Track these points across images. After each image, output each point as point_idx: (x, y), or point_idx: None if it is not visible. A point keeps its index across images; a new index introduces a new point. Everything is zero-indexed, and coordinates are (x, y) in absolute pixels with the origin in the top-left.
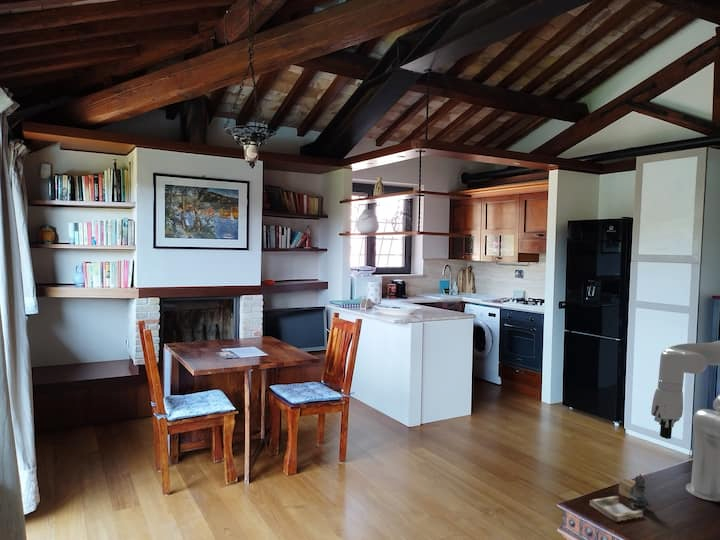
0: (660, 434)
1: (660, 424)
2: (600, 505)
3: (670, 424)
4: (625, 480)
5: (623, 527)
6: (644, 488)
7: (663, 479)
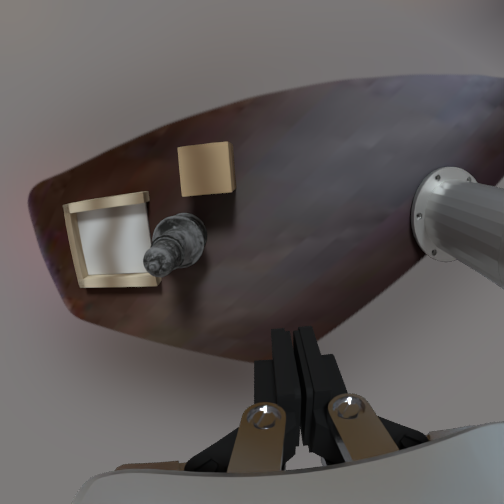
0: (273, 338)
1: (234, 431)
2: (72, 235)
3: (326, 464)
4: (198, 151)
5: (92, 304)
6: (174, 268)
7: (412, 108)
